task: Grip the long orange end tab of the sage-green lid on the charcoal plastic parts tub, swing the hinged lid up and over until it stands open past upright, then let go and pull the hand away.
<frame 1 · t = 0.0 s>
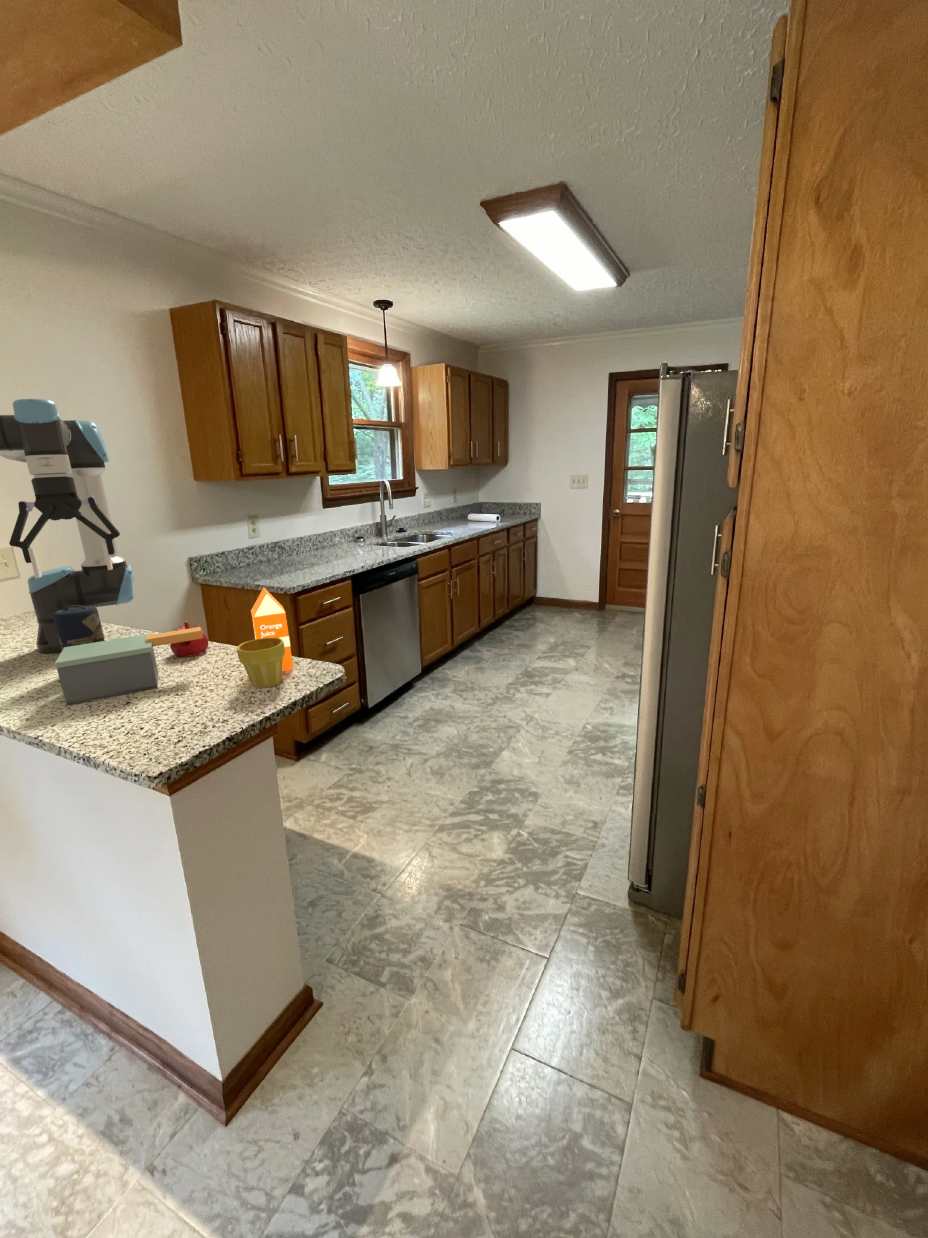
hand: (75, 573, 126), 28 cm above the countertop, tool pointing down, fingers open, 13 cm apart
lid: (134, 643, 133), point 10 cm above the countertop, hinge at 0.0°
pomegranate: (191, 653, 157), on the countertop
plant pot: (266, 683, 131), on the countertop
orange juice: (276, 666, 142), on the countertop
tub: (115, 688, 133), on the countertop
canister: (90, 672, 145), on the countertop
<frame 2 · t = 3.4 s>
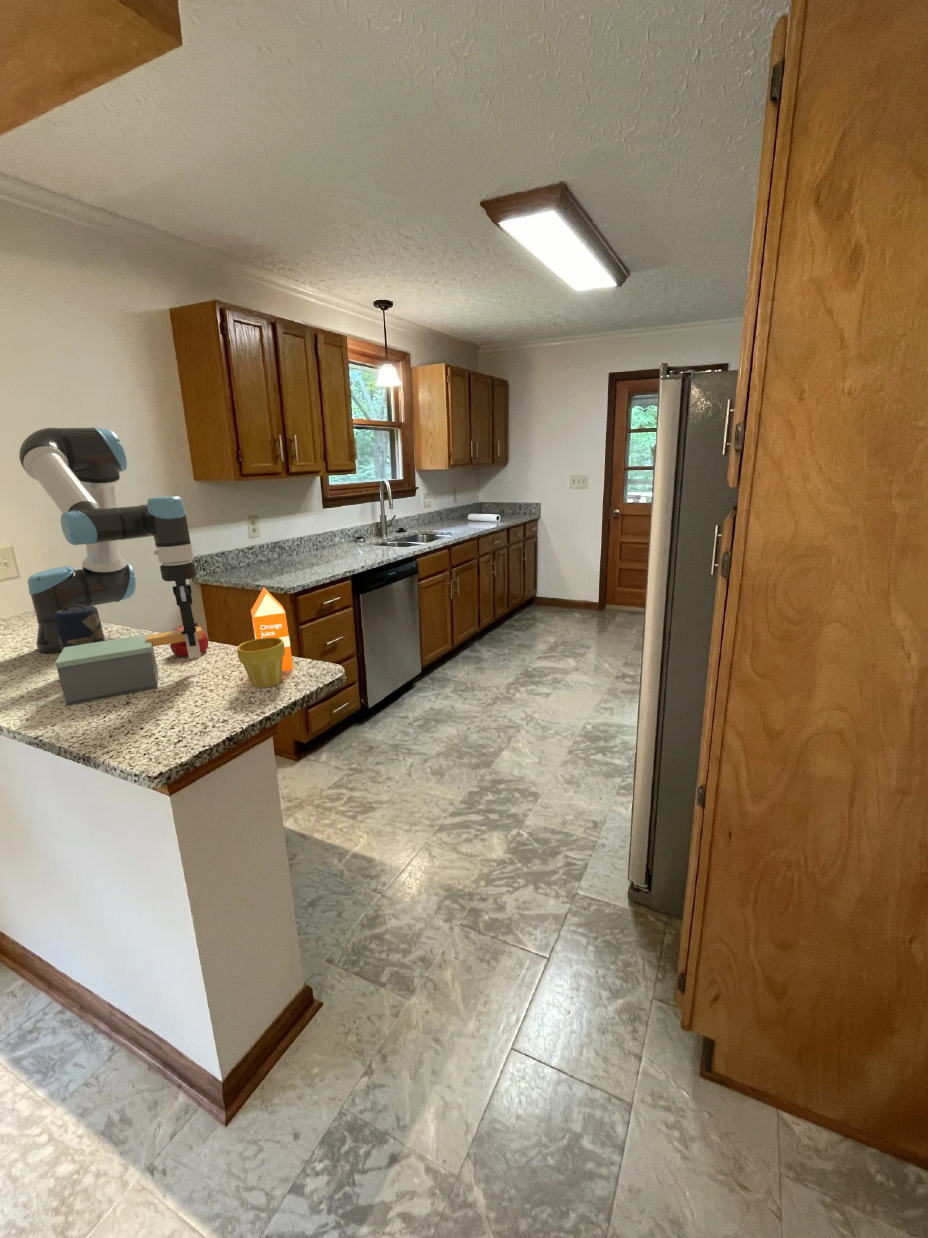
hand: (194, 654, 139), 5 cm above the countertop, tool pointing down, fingers closed on lid, 4 cm apart
lid: (134, 643, 133), point 10 cm above the countertop, hinge at 0.0°, touching gripper
everything else where it was.
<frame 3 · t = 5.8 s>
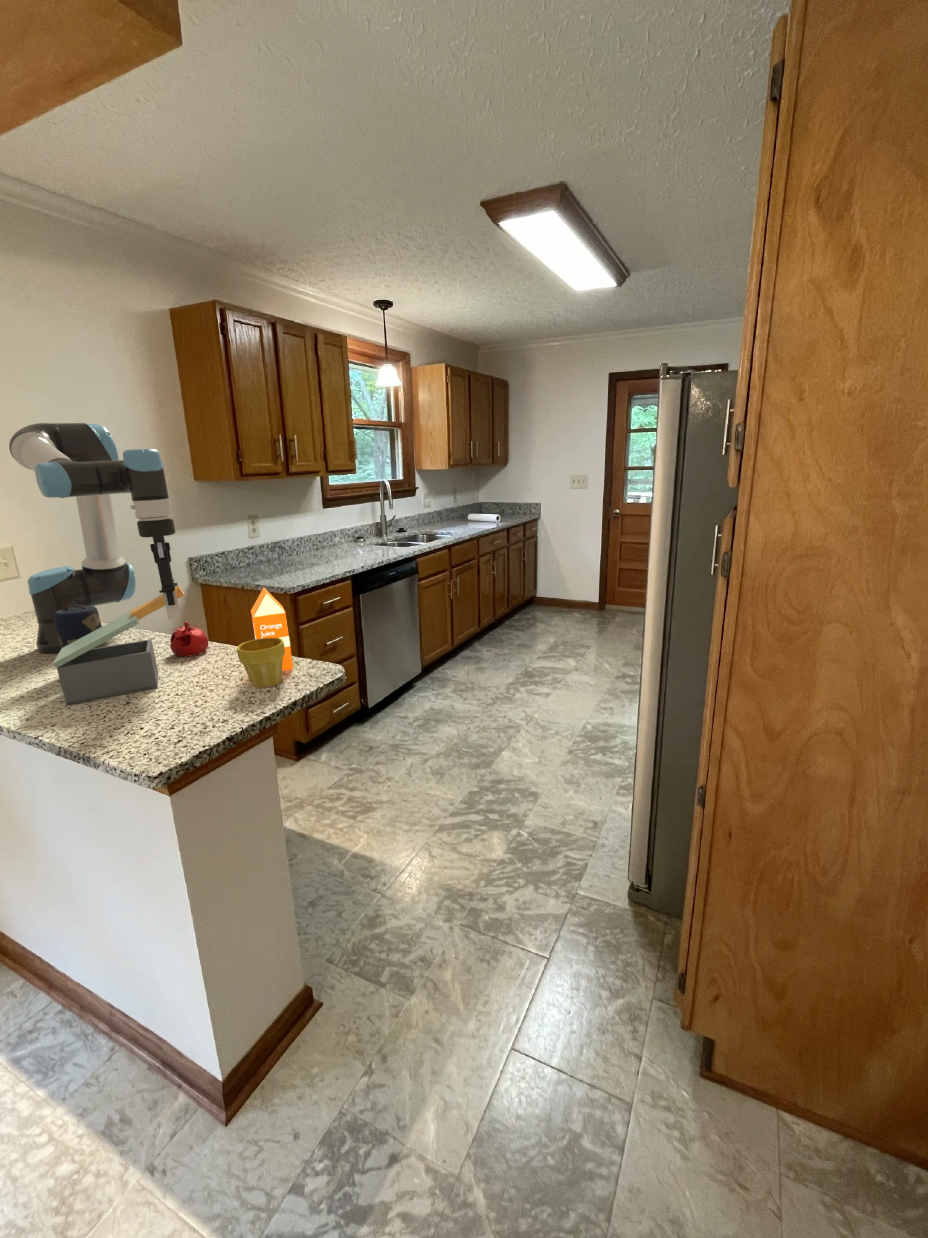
hand: (174, 615, 135), 15 cm above the countertop, tool pointing down, fingers closed on lid, 4 cm apart
lid: (121, 622, 130), point 16 cm above the countertop, hinge at 22.6°, touching gripper
everything else where it was.
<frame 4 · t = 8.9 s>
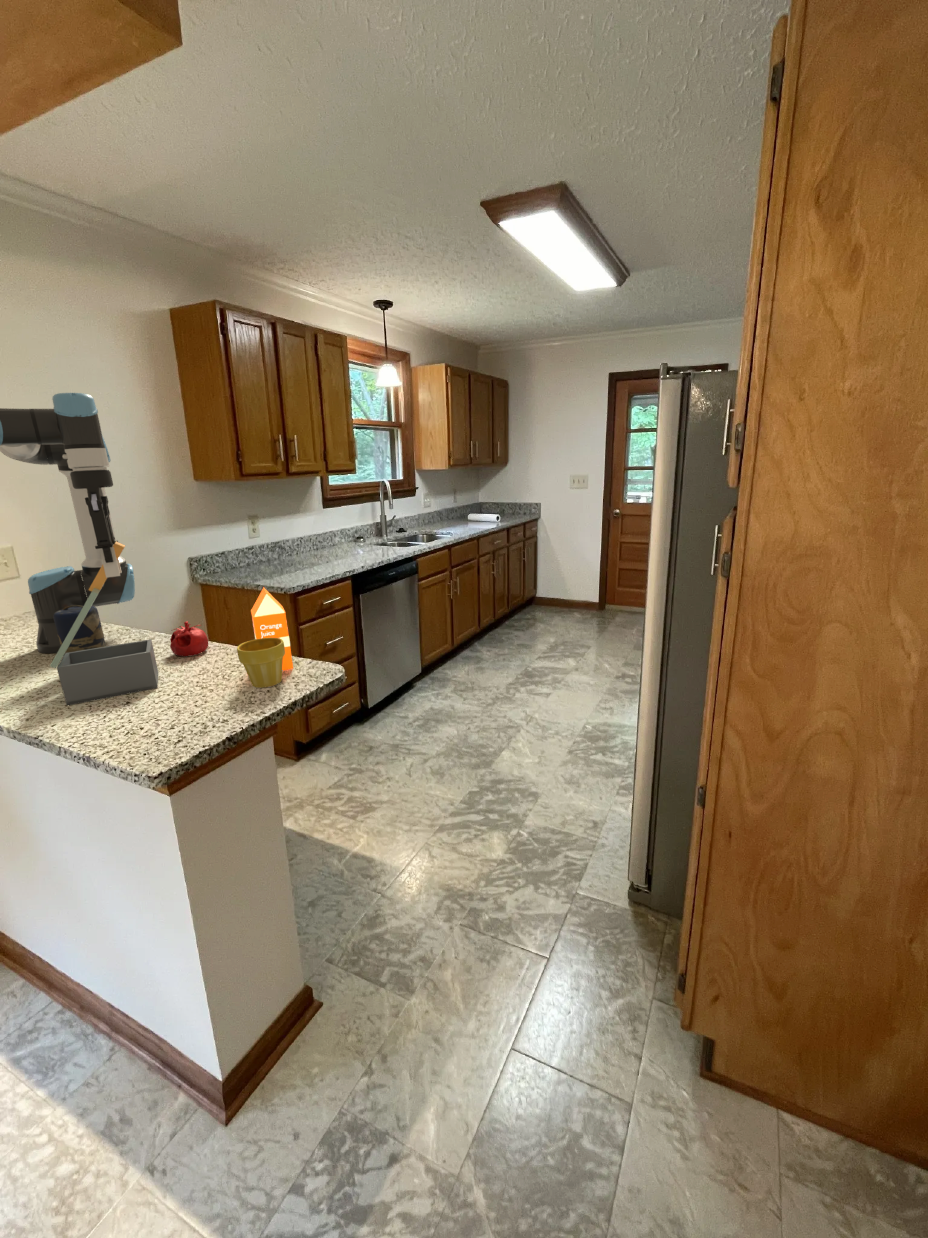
hand: (114, 574, 128), 27 cm above the countertop, tool pointing down, fingers closed on lid, 4 cm apart
lid: (88, 601, 126), point 22 cm above the countertop, hinge at 54.4°, touching gripper
everything else where it was.
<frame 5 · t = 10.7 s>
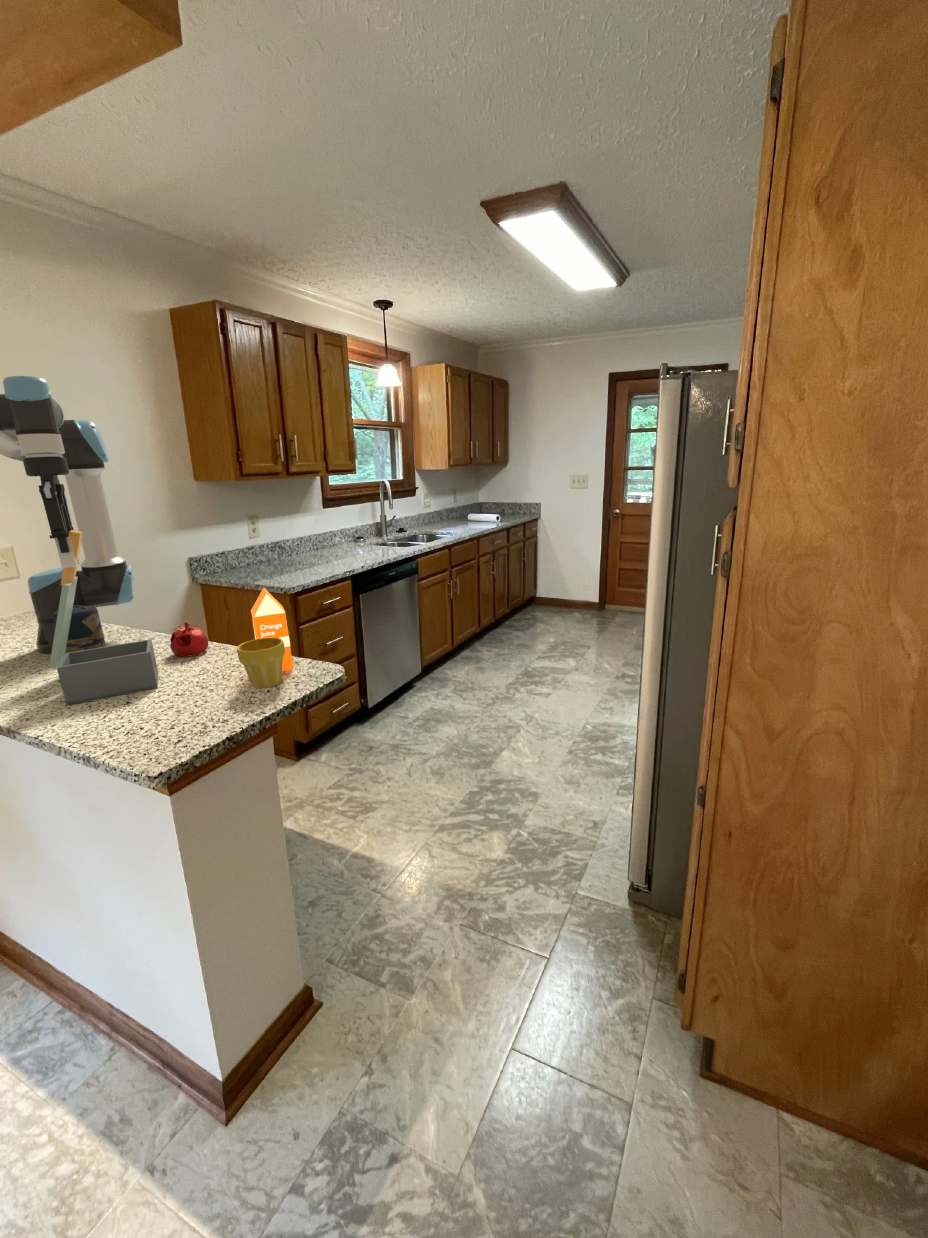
hand: (71, 565, 123), 30 cm above the countertop, tool pointing down, fingers closed on lid, 4 cm apart
lid: (65, 596, 124), point 23 cm above the countertop, hinge at 71.1°, touching gripper
everything else where it was.
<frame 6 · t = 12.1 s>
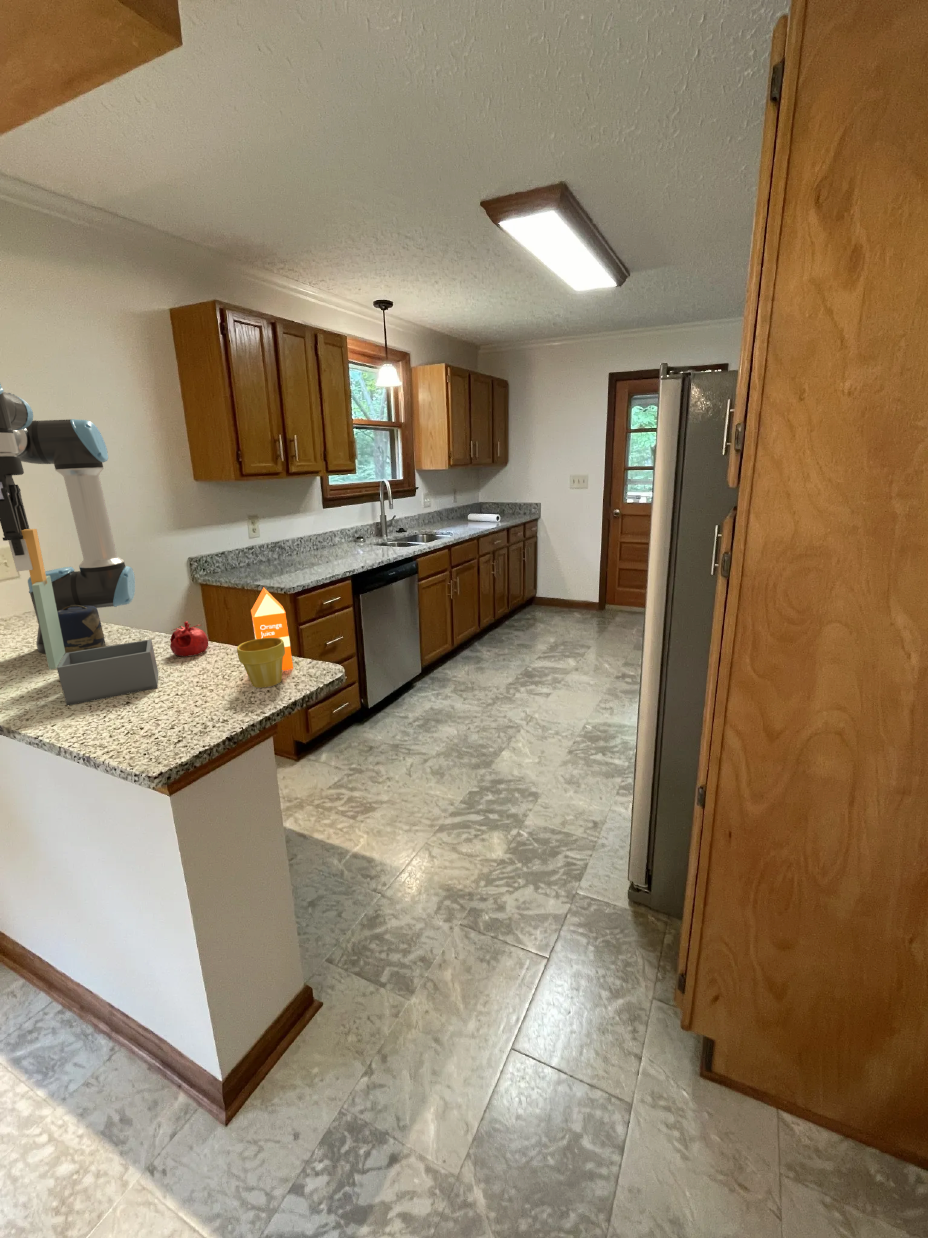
hand: (27, 568, 120), 30 cm above the countertop, tool pointing down, fingers closed on lid, 4 cm apart
lid: (42, 597, 122), point 24 cm above the countertop, hinge at 87.3°, touching gripper
everything else where it was.
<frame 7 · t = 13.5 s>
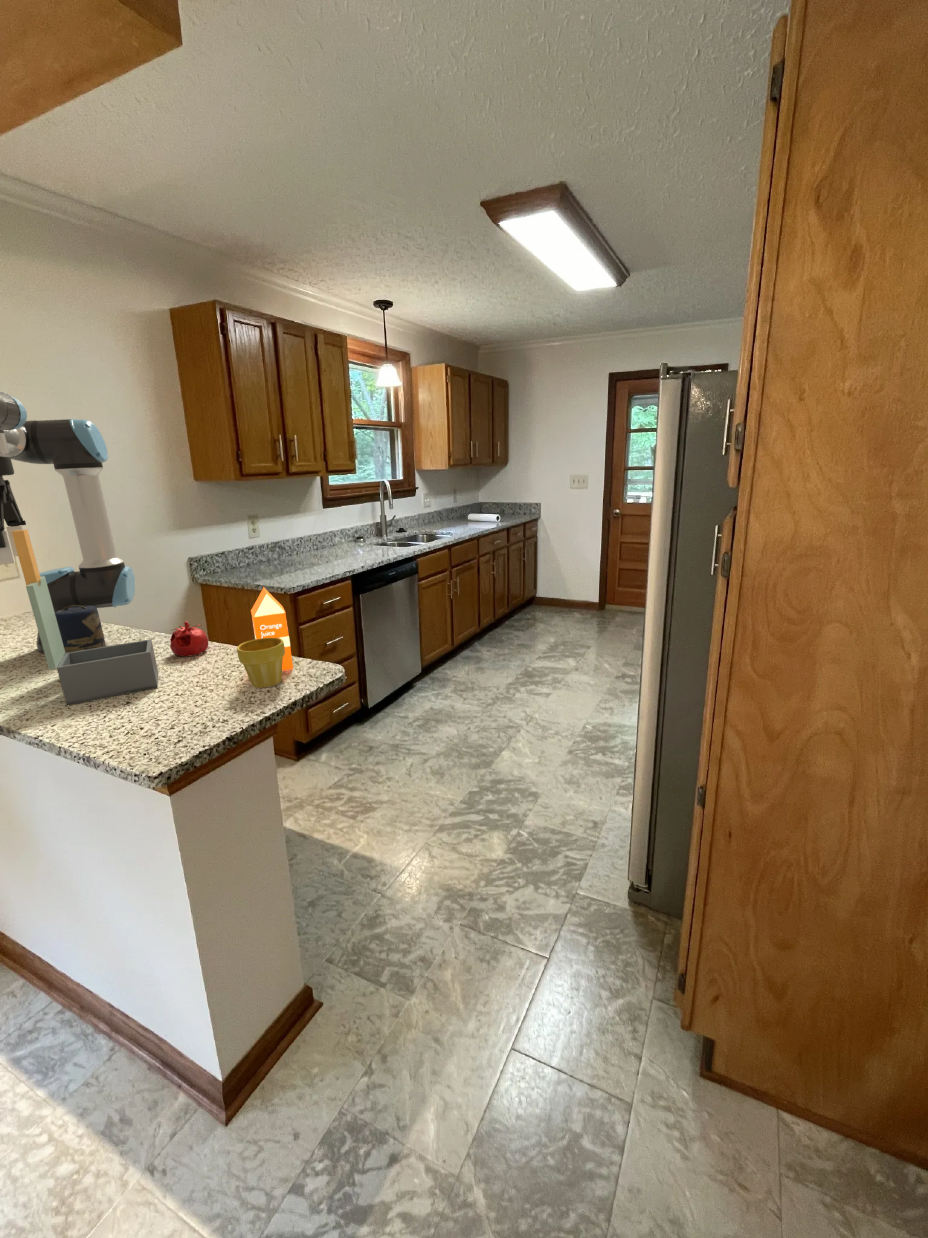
hand: (14, 559, 119), 32 cm above the countertop, tool pointing down, fingers open, 13 cm apart
lid: (38, 598, 122), point 24 cm above the countertop, hinge at 90.4°
everything else where it was.
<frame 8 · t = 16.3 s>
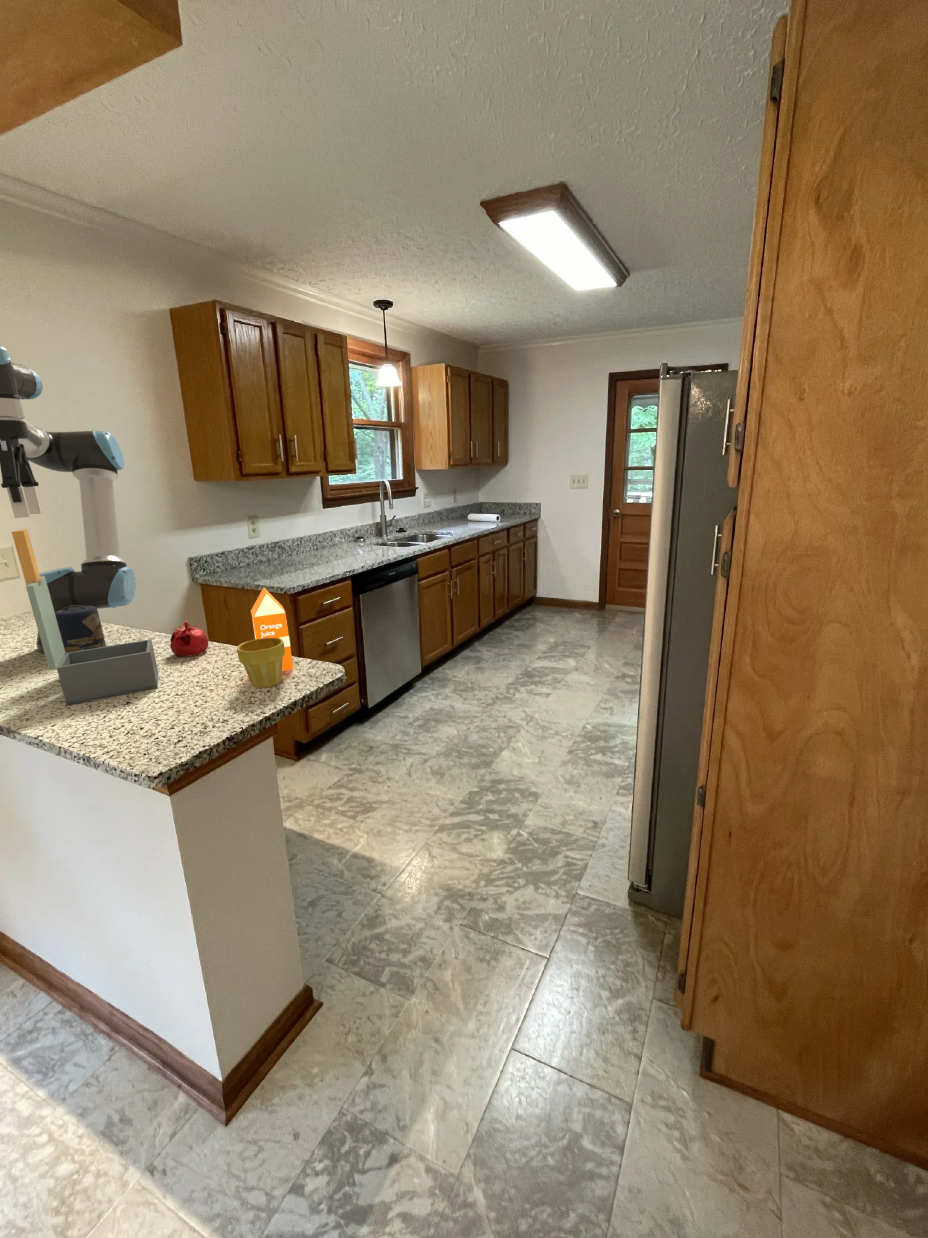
hand: (29, 515, 131), 41 cm above the countertop, tool pointing down, fingers open, 13 cm apart
nothing on the countertop moved.
at the end: lid at +90° (first picture: +0°); the gripper is holding nothing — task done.
